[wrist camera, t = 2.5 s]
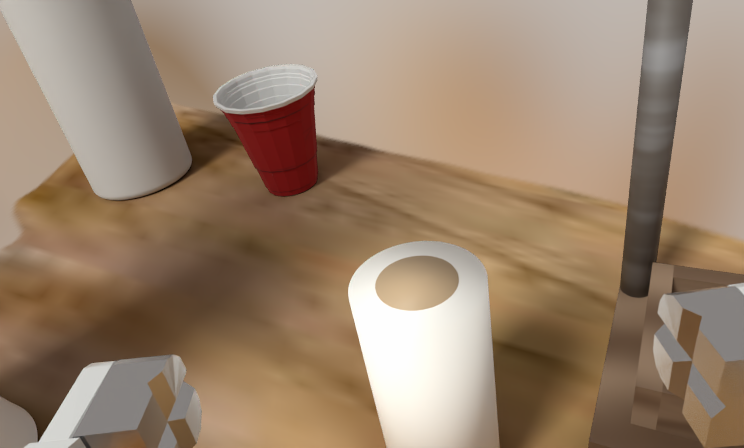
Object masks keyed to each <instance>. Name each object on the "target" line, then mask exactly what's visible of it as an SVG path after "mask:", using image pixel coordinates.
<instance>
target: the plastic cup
mask: <svg viewBox="0 0 744 448" xmlns="http://www.w3.org/2000/svg"><path fill="white" fill-rule="evenodd" d="M316 82H317V74H316V73H315V71H314V69H312V68H309V67H306V66H304V65H293V64H284V65H276V66H268V67H264V68H261V69H257V70H253V71H250V72H247V73H245V74H242V75H240V76H238V77H235V78H233V79H231V80H230V81H228V82H227V83H225V84H224V85H222V86H221V87H219V89H218V90H217V92H216V93H215V94H214V95H213V100H214V104H215V106H216V107H217V108H218V109H220V110H221V111H222V112H223V113H224V114H225V116H226V118H227V119H228V120H229V122H230V123H231V125H232V127H234V129H235V131H236V133H237V135H238V137H239V138H240V140H241V142H242V144H243V146H244V148H245V150H246V152H247V153H248V155H249V157H250V159H251V161H252V163H253V165H254V167H255V168H256V169H257V170H258V172H259V174H260V176H261V178H262V180H263V182H264V184H265V186H266V188H268V190H269V192H270V193H272V194H274V195H277V196H291V195H295V194H299V193H302V192H304V191H306V190H308V189H310V188H311V187H312V186H313V185H314V184H316V181H317V179H318V178H317V174H318V166H317V154H316V152H317V142H316V129H315V115H314V105H315V103H314V95H315V91H314V88H315V84H316Z"/></svg>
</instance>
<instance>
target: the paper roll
mask: <svg viewBox="0 0 744 448" xmlns="http://www.w3.org/2000/svg"><path fill="white" fill-rule="evenodd" d="M348 297H349V302H350V306H351V310H352V314H353V318H354V322H355V326H356V330H357V333H358V337H359V341H360V345H361V349H362V353H363V357H364V361H365V365H366V369H367V373H368V377H369V381H370V384H371V388H372V392H373V396H374V400H375V404H376V408H377V412H378V416H379V420H380V424H381V428H382V432H383V436H384V439H385V443H386V447H387V448H500V445H499V431H498V417H497V403H496V389H495V375H494V361H493V347H492V333H491V319H490V305H489V291H488V277H487V273H486V269H485V267H484V265H483V264H482V263H481V261H480V260H479V259H478V258H477V257H476V256H475V255H474V254H472V253H471V252H469V251H467V250H466V249H464V248H461V247H459V246H456V245H453V244H449V243H444V242H437V241H417V242H409V243H404V244H400V245H396V246H393V247H390V248H388V249H385V250H383V251H381V252H379V253H377V254H375V255H374V256H372V257H371V258H369V259H368V260H366V261H365V262H364V263H363V264H362V265H361V266H360V267H359V268H358V269H357V270H356V272H355V273H354V275H353V276H352V279H351V281H350V284H349V288H348Z"/></svg>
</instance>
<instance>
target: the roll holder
mask: <svg viewBox="0 0 744 448" xmlns="http://www.w3.org/2000/svg"><path fill="white" fill-rule="evenodd" d="M692 3H693V0H648V5H647V15H646V26H645V36H644V46H643V57H642V66H641V77H640V87H639V97H638V107H637V118H636V128H635V139H634V148H633V159H632V169H631V179H630V189H629V200H628V210H627V220H626V230H625V240H624V251H623V261H622V271H621V281H620V289H619V294H618V299H617V304H616V309H615V314H614V319H613V324H612V329H611V334H610V339H609V344H608V349H607V354H606V359H605V364H604V368H603V373H602V378H601V383H600V388H599V393H598V398H597V403H596V408H595V413H594V418H593V423H592V428H591V433H590V438H589V447H588V448H704V447H703V445H702V444H701V442H700V440H699V439H698V437H697V436H696V434H695V433H694V431H693V429H692V428H691V426H690V425H689V423H688V421H687V420H686V418H685V417H684V415H683V414H682V410H683V405H684V400H683V399H682V398H680V397H678V396H677V395H675V394H673V393H672V392H670V391H668V389H667V388H666V386H665V384H664V383H663V381H662V379H661V378H660V375H659V373H658V370H657V368H656V364H655V359H654V353H653V344H654V334H655V333H656V332H657V331H658V330H659V329H660V328H661V327H662V326H663V325H664V324H665V323H664V322H663V320H662V319H661V318H660V316H659V315H658V308H659V302H660V300H661V298H662V296H663V295H664V294H667V293H675V292H683V291H690V290H698V289H706V288H713V287H721V286H728V285H732V284H739V283H744V275H742V274H735V273H728V272H720V271H713V270H706V269H698V268H691V267H684V266H677V265H669V264H662V263H656V260H657V253H658V246H659V239H660V232H661V225H662V218H663V210H664V203H665V196H666V188H667V182H668V175H669V168H670V160H671V153H672V146H673V139H674V132H675V125H676V117H677V110H678V103H679V96H680V89H681V82H682V75H683V67H684V60H685V53H686V46H687V39H688V32H689V24H690V17H691V10H692ZM714 448H744V445H740V446H727V447H714Z"/></svg>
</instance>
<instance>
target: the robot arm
mask: <svg viewBox="0 0 744 448" xmlns="http://www.w3.org/2000/svg"><path fill="white" fill-rule="evenodd" d="M658 315H659V316H660V318H661V319H662V320H663V322H664V323H665V324H664V325H663V326H662V327H661V328H660V329H659V330H658V331H657V332H656V333H655V334H654V344H653V353H654V359H655V364H656V368H657V370H658V373H659V375H660V378H661V379H662V381H663V383H664V384H665V386H666V388H667V389H668V391H670V392H672V393H673V394H675V395H677V396H678V397H680V398H682V399H683V400H684V405H683V410H682V414H683V415H684V417H685V418H686V420H687V421H688V423H689V425H690V426H691V428H692V429H693V431H694V433H695V434H696V436H697V437H698V439H699V440H700V442H701V444H702V445H703V447H704V448H714V447H727V446H740V445H744V283H739V284H732V285H728V286H721V287H713V288H706V289H698V290H690V291H683V292H675V293H667V294H664V295H663V296H662V298H661V300H660V302H659V308H658ZM186 371H187V370H186V368H185V366H184V364H183V362H182V360H181V358H180V357H179V356H176V355H164V356H153V357H143V358H133V359H123V360H118V361H109V362H99V363H91V364H90V365H88V366H86V367H85V368H83V370H82V371H81V373H80V375H79V376H78V378H77V380H76V381H75V383H74V384H73V386H72V388H71V389H70V391H69V393H68V394H67V396H66V398H65V399H64V401H63V403H62V404H61V406H60V408H59V409H58V411H57V412H56V414H55V416H54V417H53V419H52V421H51V422H50V424H49V426H48V427H47V429H46V431H45V432H44V434H43V435H42V437H41V439H40V440H39V442H37V441H38V435H37V428H36V425H35V422H34V420H33V418H32V417H31V415H30V414H29V413H28V412H27V411H26V410H24V409H23V408H21V407H20V406H18V405H16V404H14V403H12V402H10V401H8V400H6V399H4V398H3V397H1V396H0V448H193V447H194V446H195V445H196V444H197V440H198V437H199V433H200V430H201V415H202V410H201V405H200V400H199V397H198V395H197V392H196V390H195V388H193V387H192V386H190V385H188V384H187V383H185V382H184V381H183V379H184V377H185V374H186Z"/></svg>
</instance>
